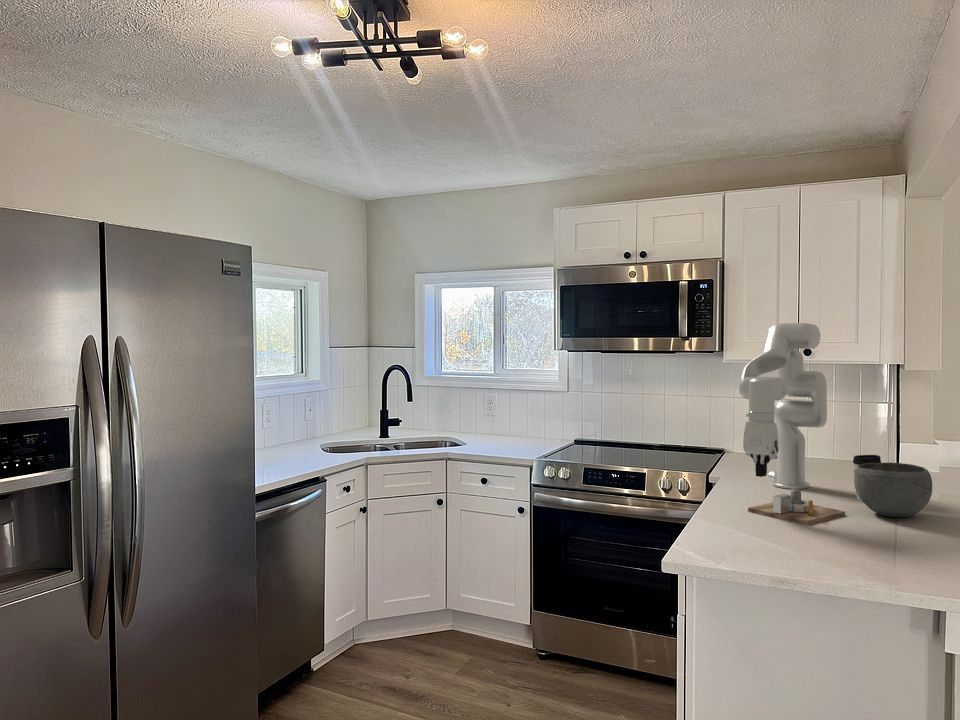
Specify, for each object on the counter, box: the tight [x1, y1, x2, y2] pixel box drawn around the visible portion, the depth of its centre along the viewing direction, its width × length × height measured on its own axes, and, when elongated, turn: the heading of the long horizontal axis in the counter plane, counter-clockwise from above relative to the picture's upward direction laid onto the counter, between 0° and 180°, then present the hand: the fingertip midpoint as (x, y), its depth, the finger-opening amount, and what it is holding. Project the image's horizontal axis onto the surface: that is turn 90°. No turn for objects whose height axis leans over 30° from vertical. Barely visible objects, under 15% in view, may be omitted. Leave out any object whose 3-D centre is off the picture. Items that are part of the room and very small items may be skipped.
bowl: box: [853, 462, 933, 518], centre depth 217 cm, size 21×21×15 cm
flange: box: [772, 493, 808, 514], centre depth 219 cm, size 9×14×5 cm, turn 123°
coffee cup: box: [852, 454, 882, 502], centre depth 237 cm, size 8×8×15 cm
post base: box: [747, 489, 846, 526], centre depth 221 cm, size 20×20×7 cm
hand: (761, 475), depth 222 cm, fingers closed
